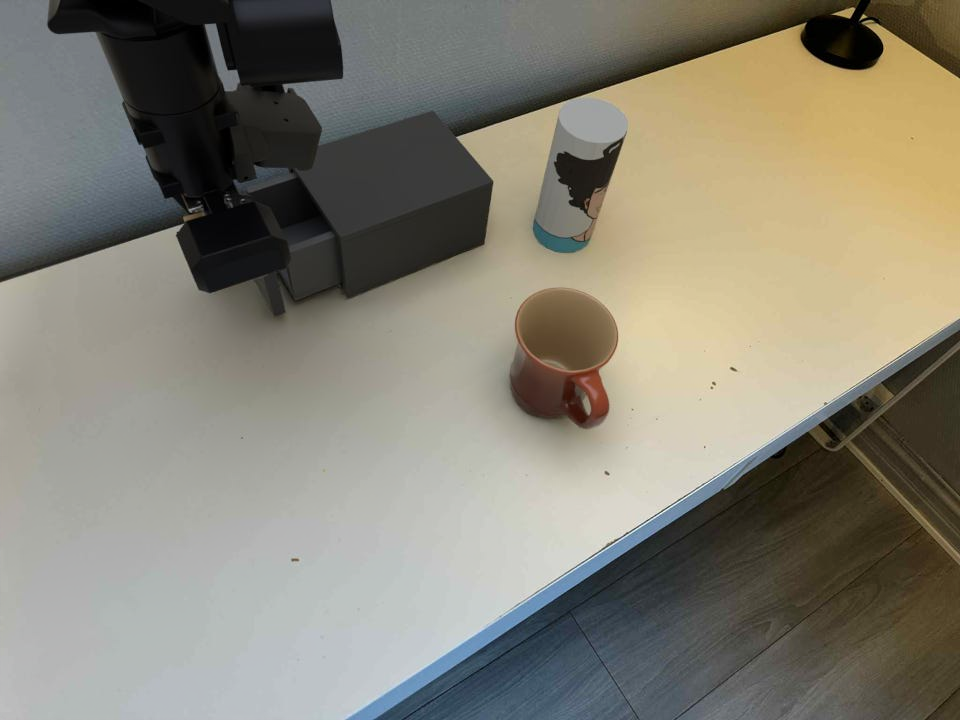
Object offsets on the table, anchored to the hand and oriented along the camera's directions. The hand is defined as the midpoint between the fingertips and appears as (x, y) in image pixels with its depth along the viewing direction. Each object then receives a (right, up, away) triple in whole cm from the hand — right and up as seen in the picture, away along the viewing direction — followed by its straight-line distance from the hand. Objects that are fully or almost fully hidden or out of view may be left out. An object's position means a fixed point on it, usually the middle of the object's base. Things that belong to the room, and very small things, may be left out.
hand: (229, 257), depth 53 cm
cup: (+29, +6, +22) cm, 37 cm away
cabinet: (+10, +6, +19) cm, 23 cm away
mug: (+27, -13, +10) cm, 31 cm away
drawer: (+2, +2, +15) cm, 15 cm away
